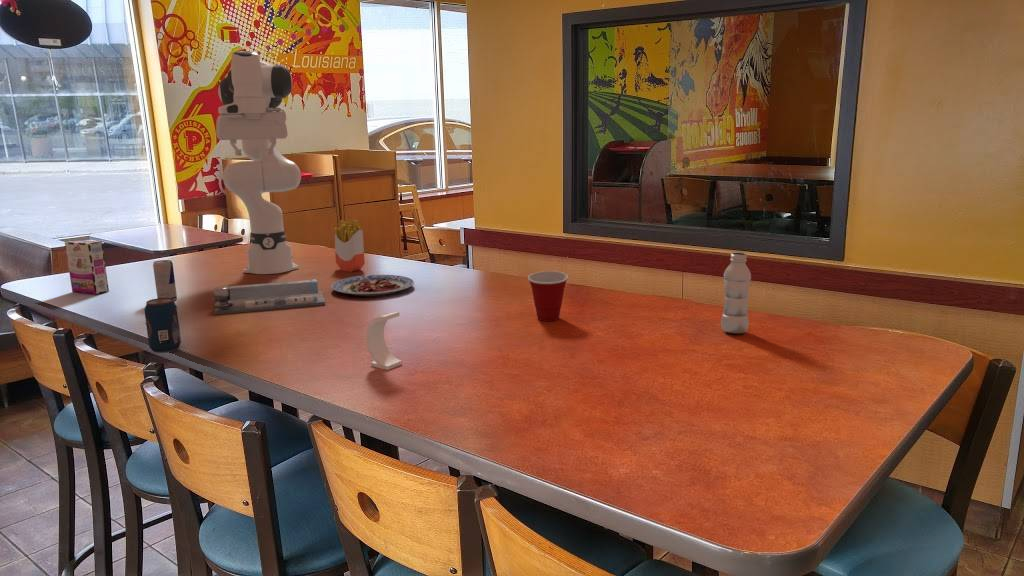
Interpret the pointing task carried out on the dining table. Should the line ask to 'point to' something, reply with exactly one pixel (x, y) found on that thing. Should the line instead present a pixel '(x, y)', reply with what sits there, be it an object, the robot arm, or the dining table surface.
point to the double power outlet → (269, 303)
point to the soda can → (162, 325)
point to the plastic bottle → (736, 295)
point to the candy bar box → (87, 266)
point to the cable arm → (265, 290)
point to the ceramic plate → (372, 285)
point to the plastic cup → (548, 293)
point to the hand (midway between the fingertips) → (254, 154)
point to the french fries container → (349, 246)
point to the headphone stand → (380, 343)
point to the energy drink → (164, 279)
